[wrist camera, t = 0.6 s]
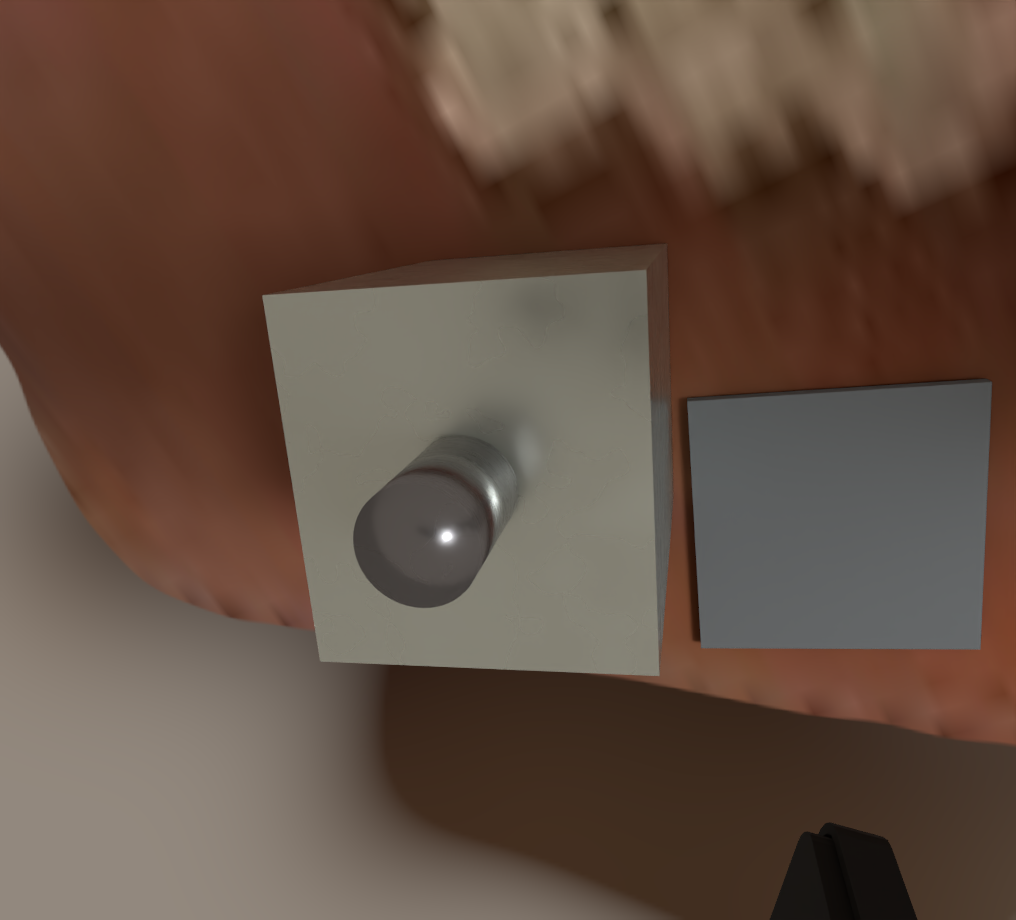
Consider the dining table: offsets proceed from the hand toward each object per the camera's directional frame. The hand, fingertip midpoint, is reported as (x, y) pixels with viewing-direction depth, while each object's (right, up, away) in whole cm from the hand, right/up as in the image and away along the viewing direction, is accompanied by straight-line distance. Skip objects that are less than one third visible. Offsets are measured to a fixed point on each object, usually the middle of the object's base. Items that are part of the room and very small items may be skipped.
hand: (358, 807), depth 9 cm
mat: (+18, +1, +34) cm, 39 cm away
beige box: (+4, +8, +35) cm, 36 cm away
